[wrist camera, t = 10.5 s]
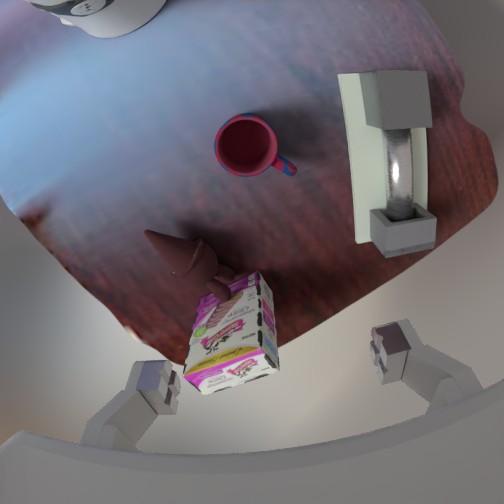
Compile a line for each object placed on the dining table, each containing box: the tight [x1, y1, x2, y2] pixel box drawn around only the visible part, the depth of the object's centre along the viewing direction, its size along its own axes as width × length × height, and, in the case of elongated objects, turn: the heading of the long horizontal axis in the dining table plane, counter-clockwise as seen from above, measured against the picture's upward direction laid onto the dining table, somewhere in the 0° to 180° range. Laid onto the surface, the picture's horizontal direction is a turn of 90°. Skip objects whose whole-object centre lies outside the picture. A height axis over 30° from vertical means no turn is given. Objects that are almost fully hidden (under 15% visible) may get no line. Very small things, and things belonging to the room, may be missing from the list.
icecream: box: [144, 230, 235, 302], centre depth 41 cm, size 7×7×15 cm
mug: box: [214, 114, 297, 177], centre depth 34 cm, size 7×10×7 cm
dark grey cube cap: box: [359, 70, 432, 130], centre depth 30 cm, size 7×7×6 cm
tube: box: [381, 128, 414, 223], centre depth 36 cm, size 15×4×4 cm, turn 11°
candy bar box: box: [182, 271, 280, 395], centre depth 41 cm, size 11×5×16 cm, turn 120°
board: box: [338, 73, 428, 244], centre depth 37 cm, size 24×12×1 cm, turn 11°
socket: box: [369, 203, 437, 258], centre depth 39 cm, size 4×8×6 cm, turn 101°
